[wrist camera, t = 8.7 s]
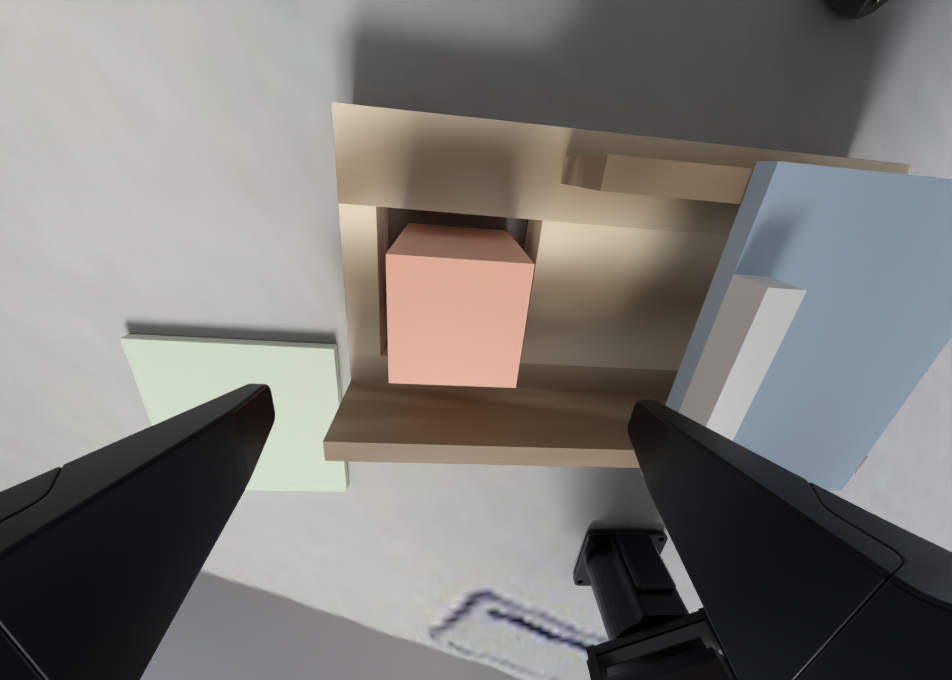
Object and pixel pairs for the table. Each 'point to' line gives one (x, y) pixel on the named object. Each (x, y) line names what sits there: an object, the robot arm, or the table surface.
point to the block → (456, 306)
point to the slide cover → (821, 314)
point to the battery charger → (856, 7)
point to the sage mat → (240, 363)
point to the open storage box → (538, 277)
